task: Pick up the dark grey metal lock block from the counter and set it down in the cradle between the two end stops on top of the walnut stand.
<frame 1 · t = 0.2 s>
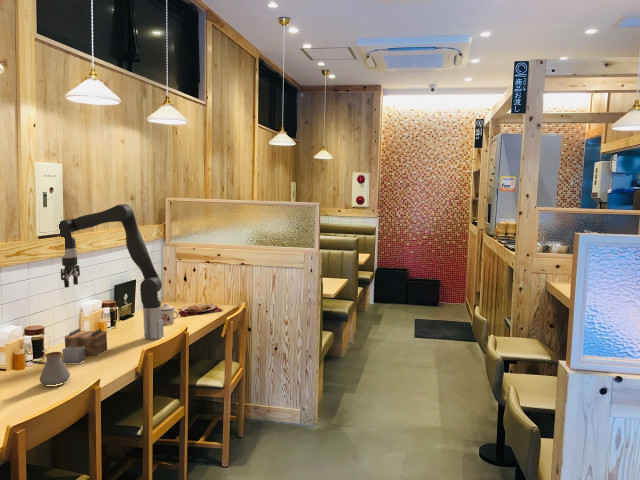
hand: (71, 285, 278), 29 cm above the counter, tool pointing down, fingers open, 8 cm apart
coffee pot: (48, 388, 209), on the counter
teacup with lid: (169, 322, 309), on the counter
plate with food: (198, 311, 340), on the counter
coupler stand: (86, 353, 254), on the counter
lock block: (74, 362, 241), on the counter
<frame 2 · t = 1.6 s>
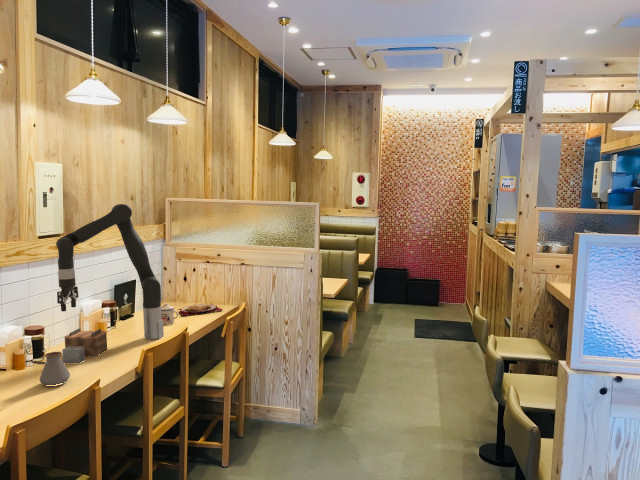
hand: (68, 309, 255), 21 cm above the counter, tool pointing down, fingers open, 8 cm apart
nothing on the counter moved.
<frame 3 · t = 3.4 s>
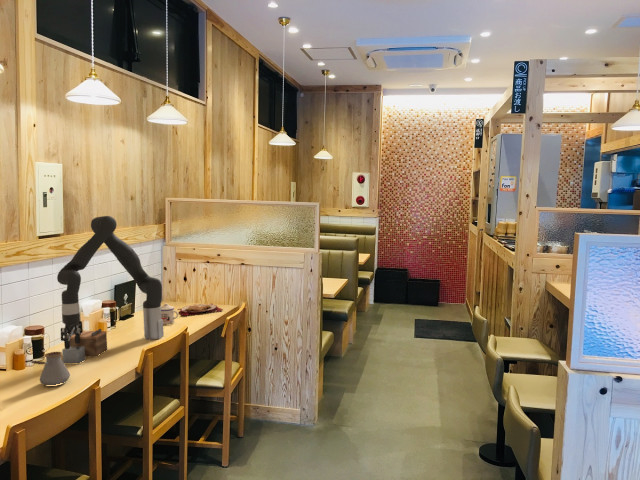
hand: (72, 345, 240), 8 cm above the counter, tool pointing down, fingers open, 8 cm apart
nothing on the counter moved.
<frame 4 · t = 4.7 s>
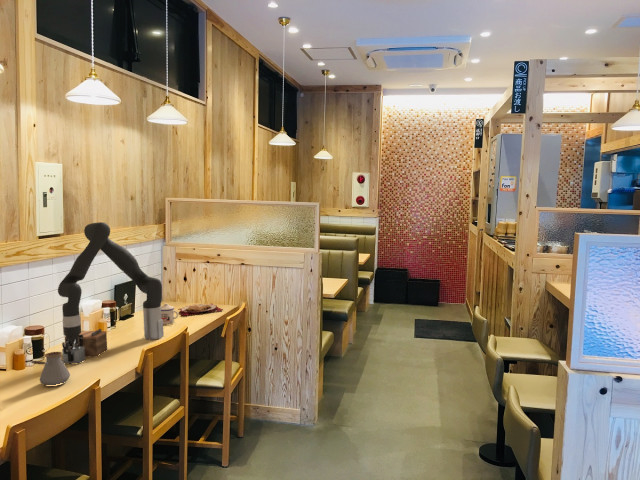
hand: (74, 359, 240), 1 cm above the counter, tool pointing down, fingers closed on lock block, 5 cm apart
lock block: (74, 362, 241), on the counter, touching gripper
everything else where it was.
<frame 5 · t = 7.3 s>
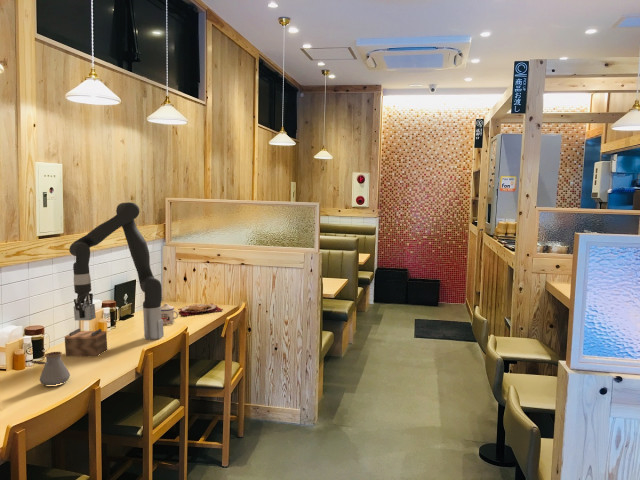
hand: (85, 316, 251), 19 cm above the counter, tool pointing down, fingers closed on lock block, 5 cm apart
lock block: (85, 318, 251), point 18 cm above the counter, touching gripper
everything else where it was.
when the fingers open (12 cm above the counter, at t = 9.1 s): lock block drops 1 cm, resting on coupler stand.
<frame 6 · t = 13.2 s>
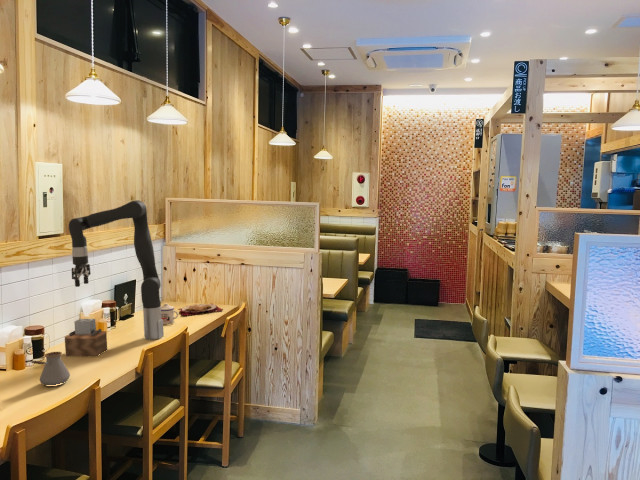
hand: (82, 285, 273), 30 cm above the counter, tool pointing down, fingers open, 8 cm apart
lock block: (85, 333, 253), point 10 cm above the counter, touching coupler stand
everything else where it was.
at the end: lock block 0.0 cm off-centre on the coupler stand, point 9.8 cm above the coupler stand's base; lock block tilted 0°; the gripper is holding nothing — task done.
